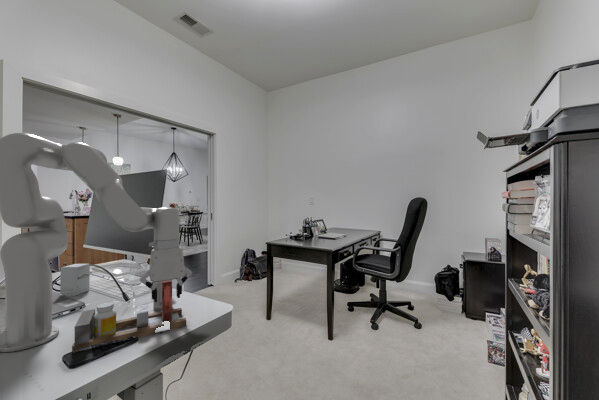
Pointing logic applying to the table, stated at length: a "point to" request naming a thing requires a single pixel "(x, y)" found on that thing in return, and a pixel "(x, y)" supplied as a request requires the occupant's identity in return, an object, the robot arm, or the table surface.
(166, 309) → the vise slider
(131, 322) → the vise bench
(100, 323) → the supplement bottle
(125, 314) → the table surface
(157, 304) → the travel mug
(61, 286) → the supplement box
